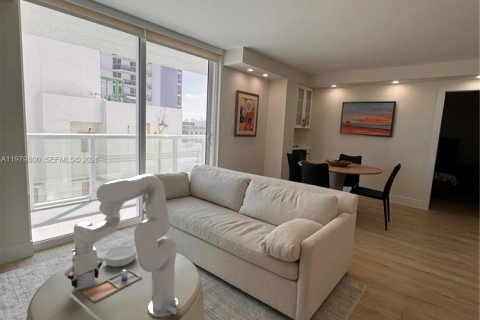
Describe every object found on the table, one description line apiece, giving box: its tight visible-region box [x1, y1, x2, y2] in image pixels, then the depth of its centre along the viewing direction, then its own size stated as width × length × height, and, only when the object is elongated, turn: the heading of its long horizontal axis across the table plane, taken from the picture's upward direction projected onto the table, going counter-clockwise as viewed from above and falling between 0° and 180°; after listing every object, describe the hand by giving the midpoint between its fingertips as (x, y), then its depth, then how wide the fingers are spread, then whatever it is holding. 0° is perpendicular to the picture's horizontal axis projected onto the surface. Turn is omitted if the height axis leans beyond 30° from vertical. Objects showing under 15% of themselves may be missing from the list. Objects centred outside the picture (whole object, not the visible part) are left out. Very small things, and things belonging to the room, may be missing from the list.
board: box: [82, 269, 143, 304], centre depth 122 cm, size 13×23×2 cm, turn 145°
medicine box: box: [75, 270, 96, 291], centre depth 121 cm, size 8×4×9 cm, turn 119°
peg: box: [120, 268, 128, 281], centre depth 126 cm, size 3×3×5 cm
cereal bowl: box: [103, 245, 137, 268], centre depth 143 cm, size 17×17×7 cm
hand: (85, 281), depth 121 cm, fingers closed on medicine box, 9 cm apart
